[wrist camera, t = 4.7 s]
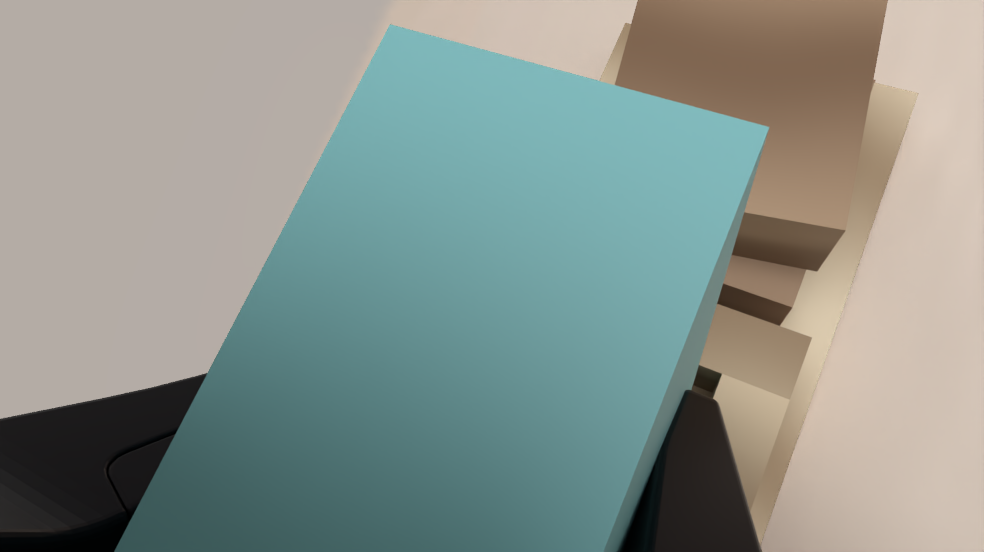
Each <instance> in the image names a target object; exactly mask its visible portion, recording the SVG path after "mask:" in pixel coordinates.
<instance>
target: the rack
mask: <svg viewBox="0 0 984 552" xmlns="http://www.w3.org/2000/svg"><path fill="white" fill-rule="evenodd" d="M630 27H631V24H628V23H625V25H624V27H623V30H622V32H621V34H620V36H619V38H618V41H617V43H616V45H615V47H614V50H613V52H612V54H611V56H610V59H609V61H608V63H607V65H606V67H605V70H604V72H603V74H602V76H601V79H600V81H601V82H605V83H608V84H612V85H615V82H616V78H617V75H618V71H619V67H620V64H621V60H622V56H623V53H624V49H625V45H626V42H627V38H628V35H629V31H630ZM917 96H918V93H915V92H911V91H907V90H903V89H899V88H895V87H890V86H886V85H882V84H878V83H874V86H873V88H872V91H871V95H870V100H869V106H868V111H867V117H866V122H865V128H864V133H863V139H862V144H861V150H860V155H859V161H858V166H857V172H856V177H855V182H854V188H853V193H852V199H851V204H850V210H849V215H848V221H847V226H846V231H845V232H844V234H843V235H842V237H841V238H840V239H839V241H838V242H837V244H836V245H835V247H834V248H833V250H832V251H831V252H830V254H829V255H828V257H827V258H826V260H825V261H824V262H823V264H822V265H821V267H820V268H819V270H818V271H817V272H816V271H811V270H806V272H805V275H804V278H803V280H802V283H801V286H800V289H799V291H798V294H797V297H796V300H795V302H794V305H793V308H792V309H791V311H790V312H789V313H788V315H787V316H786V318H785V319H784V321H783V322H782V323H781V325H780V326H778V325H775V324H773V323H770V322H767V321H764V320H761V319H759V318H756V317H753V316H750V315H747V314H744V313H742V312H739V311H736V310H733V309H730V308H728V307H725V306H722V305H719V304H717V306H716V309H715V312H714V316H713V319H712V322H711V326H710V329H709V332H708V336H707V339H706V343H705V346H704V349H703V353H702V356H701V359H700V363H699V366H698V370H697V373H696V376H695V380H694V383H693V386H692V391H694V392H697V393H699V394H702V395H704V396H707V397H709V398H712V399H714V400H716V401H717V402H718V403H719V406H720V409H721V412H722V416H723V419H724V423H725V426H726V429H727V433H728V436H729V440H730V443H731V447H732V450H733V454H734V457H735V460H736V464H737V467H738V471H739V474H740V478H741V481H742V485H743V488H744V491H745V495H746V498H747V502H748V505H749V509H750V512H751V516H752V519H753V522H754V526H755V529H756V533H757V536H758V540H759V543H760V545H761V542H762V539H763V536H764V533H765V531H766V528H767V525H768V522H769V519H770V516H771V513H772V511H773V508H774V505H775V502H776V499H777V496H778V493H779V491H780V488H781V485H782V482H783V479H784V476H785V473H786V471H787V468H788V465H789V462H790V459H791V456H792V453H793V451H794V448H795V445H796V442H797V439H798V436H799V433H800V431H801V428H802V425H803V422H804V419H805V416H806V413H807V410H808V408H809V405H810V402H811V399H812V396H813V393H814V390H815V388H816V385H817V382H818V379H819V376H820V373H821V370H822V368H823V365H824V362H825V359H826V356H827V353H828V350H829V348H830V345H831V342H832V339H833V336H834V333H835V330H836V328H837V325H838V322H839V319H840V316H841V313H842V310H843V308H844V305H845V302H846V299H847V296H848V293H849V290H850V288H851V285H852V282H853V279H854V276H855V273H856V270H857V268H858V265H859V262H860V259H861V256H862V253H863V250H864V248H865V245H866V242H867V239H868V236H869V233H870V230H871V228H872V225H873V222H874V219H875V216H876V213H877V210H878V208H879V205H880V202H881V199H882V196H883V193H884V190H885V188H886V185H887V182H888V179H889V176H890V173H891V170H892V168H893V165H894V162H895V159H896V156H897V153H898V150H899V148H900V145H901V142H902V139H903V136H904V133H905V130H906V128H907V125H908V122H909V119H910V116H911V113H912V110H913V108H914V105H915V102H916V99H917Z"/></svg>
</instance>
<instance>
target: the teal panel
mask: <svg viewBox="0 0 984 552" xmlns="http://www.w3.org/2000/svg"><path fill="white" fill-rule="evenodd" d="M768 130H769V127H767V126H764V125H760V124H756V123H752V122H749V121H745V120H741V119H738V118H734V117H730V116H727V115H723V114H719V113H716V112H712V111H708V110H704V109H701V108H697V107H693V106H690V105H686V104H682V103H679V102H675V101H671V100H668V99H664V98H660V97H656V96H653V95H649V94H645V93H642V92H638V91H634V90H631V89H627V88H623V87H620V86H616V85H612V84H608V83H605V82H601V81H597V80H594V79H590V78H586V77H583V76H579V75H575V74H572V73H568V72H564V71H560V70H557V69H553V68H549V67H546V66H542V65H538V64H535V63H531V62H527V61H523V60H520V59H516V58H512V57H509V56H505V55H501V54H498V53H494V52H490V51H487V50H483V49H479V48H475V47H472V46H468V45H464V44H461V43H457V42H453V41H450V40H446V39H442V38H439V37H435V36H431V35H427V34H424V33H420V32H416V31H413V30H409V29H405V28H402V27H398V26H394V25H391V24H390V26H389V28H388V29H387V31H386V33H385V35H384V37H383V39H382V41H381V43H380V45H379V47H378V49H377V50H376V52H375V54H374V56H373V58H372V60H371V62H370V64H369V66H368V68H367V70H366V71H365V73H364V75H363V77H362V79H361V81H360V83H359V85H358V87H357V89H356V91H355V92H354V94H353V96H352V98H351V100H350V102H349V104H348V106H347V108H346V110H345V112H344V113H343V115H342V117H341V119H340V121H339V123H338V125H337V127H336V129H335V131H334V133H333V134H332V136H331V138H330V140H329V142H328V144H327V146H326V148H325V150H324V152H323V154H322V156H321V157H320V159H319V161H318V163H317V165H316V167H315V169H314V171H313V173H312V175H311V177H310V178H309V180H308V182H307V184H306V186H305V188H304V190H303V192H302V194H301V196H300V198H299V199H298V201H297V203H296V205H295V207H294V209H293V211H292V213H291V215H290V217H289V219H288V220H287V222H286V224H285V226H284V228H283V230H282V232H281V234H280V236H279V238H278V240H277V241H276V243H275V245H274V247H273V249H272V251H271V253H270V255H269V257H268V259H267V261H266V262H265V264H264V266H263V268H262V270H261V272H260V274H259V276H258V278H257V280H256V282H255V283H254V285H253V287H252V289H251V291H250V293H249V295H248V297H247V299H246V301H245V303H244V305H243V306H242V308H241V310H240V312H239V314H238V316H237V318H236V320H235V322H234V324H233V326H232V327H231V329H230V331H229V333H228V335H227V337H226V339H225V341H224V343H223V345H222V347H221V348H220V350H219V352H218V354H217V356H216V358H215V360H214V362H213V364H212V366H211V368H210V369H209V371H208V373H207V375H206V377H205V379H204V381H203V383H202V385H201V387H200V389H199V390H198V392H197V394H196V396H195V398H194V400H193V402H192V404H191V406H190V408H189V410H188V411H187V413H186V415H185V417H184V419H183V421H182V423H181V425H180V427H179V429H178V431H177V432H176V434H175V436H174V438H173V440H172V442H171V444H170V446H169V448H168V450H167V452H166V454H165V455H164V457H163V459H162V461H161V463H160V465H159V467H158V469H157V471H156V473H155V475H154V476H153V478H152V480H151V482H150V484H149V486H148V488H147V490H146V492H145V494H144V496H143V497H142V499H141V501H140V503H139V505H138V507H137V509H136V511H135V513H134V515H133V517H132V518H131V520H130V522H129V524H128V526H127V528H126V530H125V532H124V534H123V536H122V538H121V539H120V541H119V543H118V545H117V547H116V549H115V551H114V552H623V549H624V547H625V544H626V541H627V538H628V536H629V533H630V530H631V527H632V525H633V522H634V519H635V516H636V514H637V511H638V508H639V505H640V503H641V500H642V497H643V494H644V491H645V489H646V486H647V483H648V480H649V478H650V475H651V472H652V469H653V467H654V464H655V461H656V458H657V456H658V453H659V451H660V448H661V446H662V444H663V441H664V439H665V437H666V434H667V432H668V430H669V427H670V425H671V423H672V420H673V418H674V416H675V413H676V411H677V409H678V406H679V404H680V402H681V399H682V397H683V394H684V392H685V390H692V386H693V383H694V380H695V376H696V373H697V370H698V366H699V363H700V359H701V356H702V353H703V349H704V346H705V343H706V339H707V336H708V332H709V329H710V326H711V322H712V319H713V316H714V312H715V309H716V306H717V302H718V299H719V295H720V292H721V289H722V285H723V282H724V279H725V275H726V272H727V269H728V265H729V262H730V258H731V255H732V252H733V248H734V245H735V242H736V238H737V235H738V231H739V228H740V225H741V221H742V218H743V215H744V211H745V208H746V205H747V201H748V198H749V194H750V191H751V188H752V184H753V181H754V178H755V174H756V171H757V168H758V164H759V161H760V157H761V154H762V151H763V147H764V144H765V141H766V137H767V134H768Z"/></svg>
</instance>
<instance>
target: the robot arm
mask: <svg viewBox="0 0 984 552" xmlns="http://www.w3.org/2000/svg"><path fill="white" fill-rule="evenodd" d="M206 375H207V373H206V374H202V375H199V376H195V377H191V378H187V379H183V380H179V381H175V382H171V383H168V384H164V385H160V386H156V387H152V388H148V389H143V390H138V391H134V392H129V393H125V394H121V395H116V396H111V397H107V398H102V399H97V400H92V401H87V402H82V403H77V404H72V405H67V406H63V407H57V408H52V409H47V410H43V411H37V412H32V413H28V414H22V415H17V416H13V417H8V418H3V419H0V552H114V551H115V549H116V547H117V545H118V543H119V541H120V539H121V538H122V536H123V534H124V532H125V530H126V528H127V526H128V524H129V522H130V520H131V518H132V517H133V515H134V513H135V511H136V509H137V507H138V505H139V503H140V501H141V499H142V497H143V496H144V494H145V492H146V490H147V488H148V486H149V484H150V482H151V480H152V478H153V476H154V475H155V473H156V471H157V469H158V467H159V465H160V463H161V461H162V459H163V457H164V455H165V454H166V452H167V450H168V448H169V446H170V444H171V442H172V440H173V438H174V436H175V434H176V432H177V431H178V429H179V427H180V425H181V423H182V421H183V419H184V417H185V415H186V413H187V411H188V410H189V408H190V406H191V404H192V402H193V400H194V398H195V396H196V394H197V392H198V390H199V389H200V387H201V385H202V383H203V381H204V379H205V377H206ZM623 552H762V550H761V547H760V543H759V540H758V536H757V533H756V529H755V526H754V522H753V519H752V516H751V512H750V509H749V505H748V502H747V498H746V495H745V491H744V488H743V485H742V481H741V478H740V474H739V471H738V467H737V464H736V460H735V457H734V454H733V450H732V447H731V443H730V440H729V436H728V433H727V429H726V426H725V423H724V419H723V416H722V412H721V409H720V406H719V403H718V402H717V401H716V400H714V399H712V398H709V397H707V396H704V395H702V394H699V393H697V392H694V391H692V390H685V392H684V394H683V397H682V399H681V402H680V404H679V406H678V409H677V411H676V413H675V416H674V418H673V420H672V423H671V425H670V427H669V430H668V432H667V434H666V437H665V439H664V441H663V444H662V446H661V448H660V451H659V453H658V456H657V458H656V461H655V464H654V467H653V469H652V472H651V475H650V478H649V480H648V483H647V486H646V489H645V491H644V494H643V497H642V500H641V503H640V505H639V508H638V511H637V514H636V516H635V519H634V522H633V525H632V527H631V530H630V533H629V536H628V538H627V541H626V544H625V547H624V549H623Z"/></svg>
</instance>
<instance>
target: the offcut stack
mask: <svg viewBox="0 0 984 552" xmlns="http://www.w3.org/2000/svg"><path fill="white" fill-rule="evenodd" d="M887 1H888V0H638V2H637V6H636V9H635V13H634V16H633V20H632V24H631V27H630V31H629V35H628V38H627V42H626V45H625V49H624V53H623V56H622V60H621V64H620V67H619V71H618V75H617V78H616V82H615V85H616V86H620V87H623V88H627V89H631V90H634V91H638V92H642V93H645V94H649V95H653V96H656V97H660V98H664V99H668V100H671V101H675V102H679V103H682V104H686V105H690V106H693V107H697V108H701V109H704V110H708V111H712V112H716V113H719V114H723V115H727V116H730V117H734V118H738V119H741V120H745V121H749V122H752V123H756V124H760V125H764V126H767V127H769V130H768V134H767V137H766V141H765V144H764V147H763V151H762V154H761V157H760V161H759V164H758V168H757V171H756V174H755V178H754V181H753V184H752V188H751V191H750V194H749V198H748V201H747V205H746V208H745V211H744V215H743V218H742V221H741V225H740V228H739V231H738V235H737V238H736V242H735V245H734V248H733V252H732V255H731V258H730V262H729V265H728V269H727V272H726V275H725V279H724V282H723V285H722V289H721V292H720V295H719V299H718V302H717V304H719V305H722V306H725V307H728V308H730V309H733V310H736V311H739V312H742V313H744V314H747V315H750V316H753V317H756V318H759V319H761V320H764V321H767V322H770V323H773V324H775V325H778V326H780V325H781V323H782V322H783V321H784V319H785V318H786V316H787V315H788V313H789V312H790V311H791V309H792V308H793V305H794V302H795V300H796V297H797V294H798V291H799V289H800V286H801V283H802V280H803V278H804V275H805V272H806V270H811V271H816V272H817V271H818V270H819V268H820V267H821V265H822V264H823V262H824V261H825V260H826V258H827V257H828V255H829V254H830V252H831V251H832V250H833V248H834V247H835V245H836V244H837V242H838V241H839V239H840V238H841V237H842V235H843V234H844V232H845V231H846V226H847V221H848V215H849V210H850V204H851V199H852V193H853V188H854V182H855V177H856V172H857V166H858V161H859V155H860V150H861V144H862V139H863V133H864V128H865V122H866V117H867V111H868V106H869V100H870V95H871V91H872V88H873V86H874V83H875V80H873V78H874V73H875V67H876V62H877V56H878V51H879V45H880V40H881V34H882V29H883V23H884V18H885V12H886V7H887Z"/></svg>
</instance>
